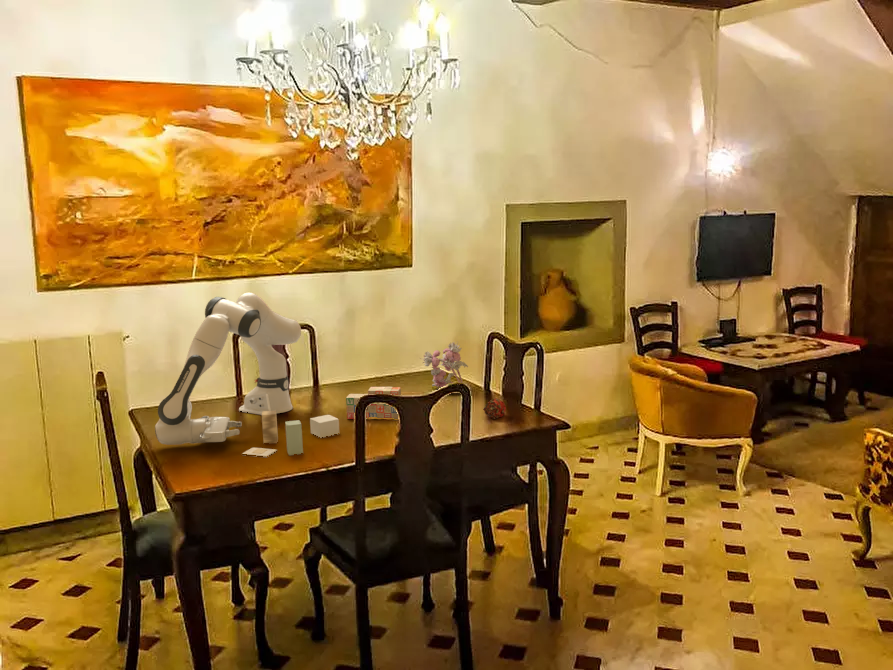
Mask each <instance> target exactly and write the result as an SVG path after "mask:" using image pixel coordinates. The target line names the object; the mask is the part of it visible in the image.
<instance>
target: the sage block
mask: <svg viewBox="0 0 893 670" xmlns="http://www.w3.org/2000/svg"><path fill="white" fill-rule="evenodd" d="M285 437H286V438H285V439H286V440H285V441H286V452H287V454H288V456H294V454H297V455H302V454H301V453H303V454H304V448H303V446H304V445H303V429H302V423H301V421H300V420H299V419H298V420H297V419H296V420H289V421H288V420H287V421H285Z"/></svg>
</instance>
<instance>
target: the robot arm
mask: <svg viewBox="0 0 893 670" xmlns="http://www.w3.org/2000/svg"><path fill="white" fill-rule="evenodd" d="M204 316H205V319H204V320H203V321H202V322H201V324H200V326H199V327H198V329H197V331H196V332H195V334H194V336H193V338H192V340H191V342H190V343H191V344H190V346H189V349H188V353H187V356H186V360H185V363H184V366H183V369H182V371H181V373H180V375H179V377H178V378H177V381H176V383H175V384H174V387H173V389H172V390H171V392H170V393H169V395H167V396H165V398H164V399H162V400H161V401H160V403H159V404H158V407H157V415H158V418H159V419H158V421H157V422H156V424H155V425H154V432H155V436H156V439H157V441H158V442H159V443H160V444H162V445H183V444H188V443H189V444H202V443H203V444H204V443H205V444H206V443H222V442H225V441H226V440H227V438H229V437H233V436H238V435H240V429H239V428H242V423H243V422H242V421H235V420H231V419H230V417H229V416H209V415H204V416H201V417H200V418H199V417H198V418H192V417H191V416H192V410H193V406H192V405H193V404H192V401H191V400H190V396H191V394H192V393H193V391H194V389H195V387H196V385H197V382H198V381H199V379H200V378H201V376H202V375H203V374H204V373H205V372H206V371H207V370H209V369H210V368H211V367H212V366H213V365H214V364H215V363H216V362H217V360H218V358H219V357H220V356H221V353H222V351H223V349H224V346H225V345H226V342H227V339H228V335H229V332H230V333H233V334H235V335H239V336H240V339H241V340H242V342H243V343H245V344H246V345H247V346H249V348H250V349H251V350H252V351H253V352H254V354H255V357H256V358H257V363H258V369H259V377H257V378H256V379H254V383H255V384H256V386H255V387H254V388H253V389H251V390H250V391H249V392H248V393H246V394H245V396H244V400H243V405H241V406H240V407H239V408H238V411H239V412H240V411H242V413H247V412H248V414H255V415H258V416H259V415H260V416H262V411H276V414H280V413H286V412H289V411H291V410H293V408H294V406H293V405H292V401H291V396H290V394H289V393H290V392H289V377H288V373H287V360H286V358H285V356H284V355H283V354H282V353H280V352H278V351H277V350H275V348H273V346H275V345H277V346H278V345H279V346H281V345H283V346H284V345H285V346H286V345H291V344H295V343H297V342H298V341H299V340H300V338H301V336H302V328H301V325H300V323H299V322H298V321H297V320H296V319H293V318H289V317H286V316H283V315H281V314H280V313H277V312H275V311H274V310H272V309H271V308H270V307H269V306H268V304H267V303H266V301H264V300H263V298H261V297H260V296H259V295H258V294H256V293H254V292H245V293H242V294H241V295H240V296H239V297H238V298H237V300H236V302H235V301H233V300H231V299H227V298H226V297H222V296H215V297H214V298H211V299H210V300H209V301H208V302H207V304H206V306H205V309H204ZM233 427H234V429H231V430H229V429H230V428H233Z"/></svg>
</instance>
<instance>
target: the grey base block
mask: <svg viewBox="0 0 893 670" xmlns="http://www.w3.org/2000/svg"><path fill="white" fill-rule="evenodd" d="M339 420H340V419H339V418H337V417H335V416H333V415H331V414H324V415H319V416H314V417H310V418H309V425H310V426H309V427H310V434H311V435H313V434H314V436H315V435H316V437H317V436H318V437H317V438H319V437H320V439H322V437H323V438H327V437H326V436H328V437H331V435H332V436H335V435H334V434H337V435H339V434H340V421H339ZM338 433H339V434H338Z"/></svg>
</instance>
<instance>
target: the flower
mask: <svg viewBox="0 0 893 670" xmlns="http://www.w3.org/2000/svg"><path fill="white" fill-rule="evenodd" d="M458 344H459V341H457V342H456V343H455V341H453V342H450V343H449V344H448V345H447V348H444V349H443V350H442V353H443V354H442V355H441V352H440V350H438V349H437V350H434V351H433V353H431V352H430V351H425V352H424V354H423V358H421V357H419V359H420V360H422V364H424V365H423V366H425V367H429V366H430V365H431V366H432V367H431V368H432V369H431V370H430V374H431V375H432V376H433V377H432V378H433V379H432V380H431V381H432V382H433V383H432V384H431V386H432V387H436V388H437V387H438V388H437V389H439V387H443V386H447V385H448V384H452V383H454V382H453V381H452V379H451V378H452V377H455V378H456V380H457V382H458V384H459V383H463V379H462V375H461V373H460V371H459V369H460V368H461V367H462V366H463V368H466V367H467V368H468V367H469V365H468V364H466V363H465V362H464V361H462V360H461V359H462V357H461V354H460V353H459V352H461V350H462V349H463V348H462V347H460V346H461V345H460V344H459V345H458ZM440 355H441V356H442V357H440V358H438V357H439V356H440ZM423 361H424V362H423ZM440 363H441V364H440ZM439 365H440V366H442V367H444V368H445V370H444V369H441V368H440V367H439ZM446 371H447V372H450V371H452V372H450V373H449V374H448V375H447V372H446ZM446 375H447V376H446Z"/></svg>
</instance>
